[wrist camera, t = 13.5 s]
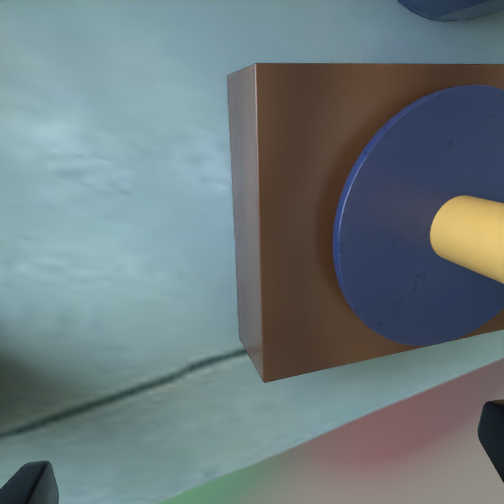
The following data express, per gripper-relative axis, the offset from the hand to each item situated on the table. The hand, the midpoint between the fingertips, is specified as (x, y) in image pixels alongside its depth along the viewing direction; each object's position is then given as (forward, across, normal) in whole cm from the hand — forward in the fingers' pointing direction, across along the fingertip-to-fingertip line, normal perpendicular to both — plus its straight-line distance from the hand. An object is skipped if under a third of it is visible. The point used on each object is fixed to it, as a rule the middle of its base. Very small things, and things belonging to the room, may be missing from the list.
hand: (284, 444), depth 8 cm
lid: (+9, -10, -1) cm, 13 cm away
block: (+14, -9, -1) cm, 16 cm away
